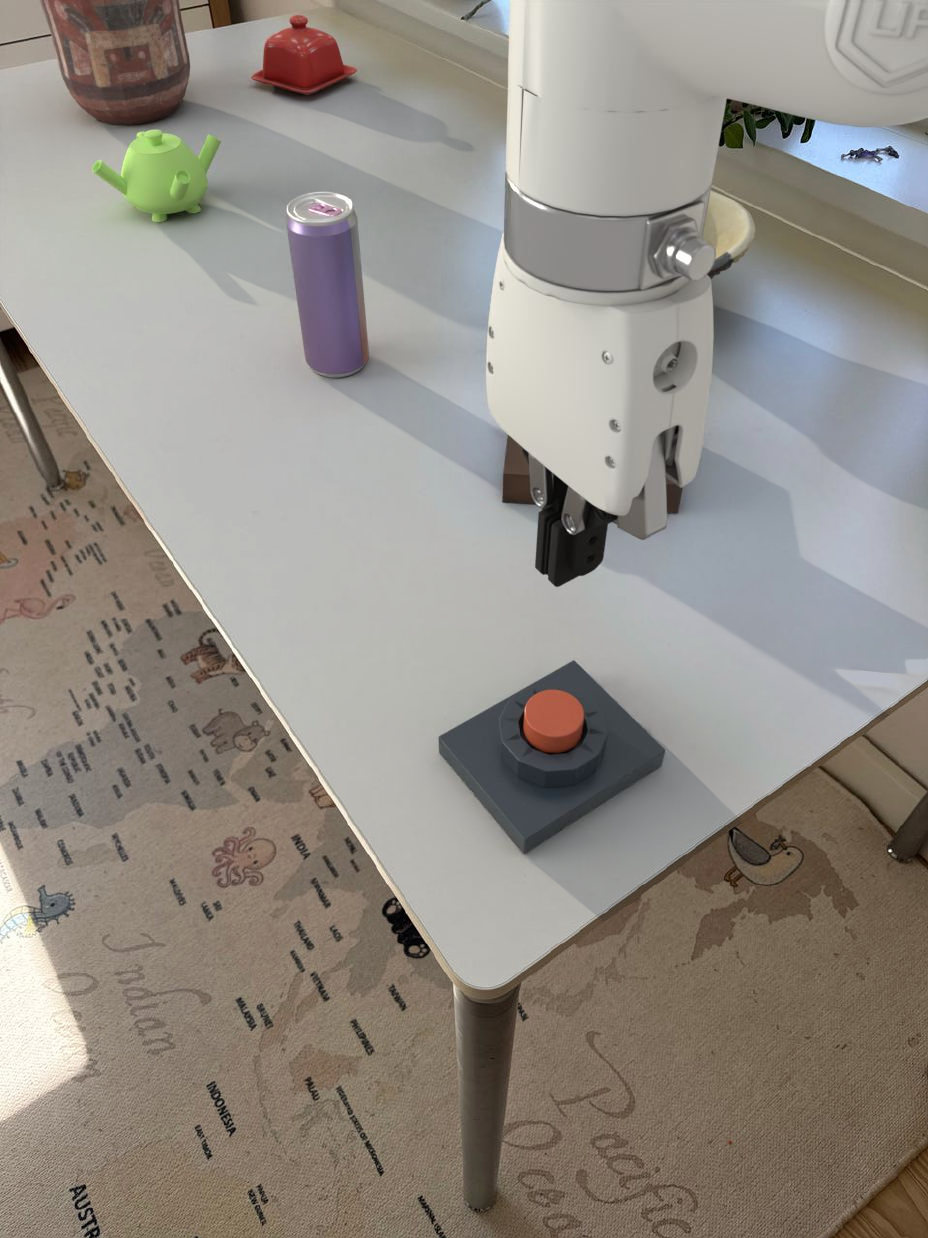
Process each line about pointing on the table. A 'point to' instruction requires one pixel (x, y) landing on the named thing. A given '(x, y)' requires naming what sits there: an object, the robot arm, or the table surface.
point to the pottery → (121, 56)
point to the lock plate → (519, 480)
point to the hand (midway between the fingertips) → (568, 566)
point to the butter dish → (302, 59)
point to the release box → (549, 759)
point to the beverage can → (328, 282)
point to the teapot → (161, 174)
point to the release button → (553, 721)
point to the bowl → (727, 231)
